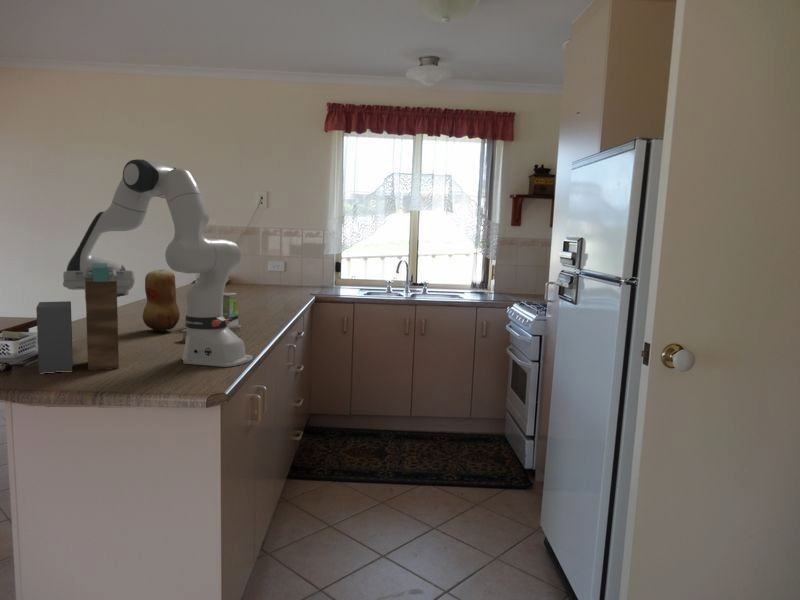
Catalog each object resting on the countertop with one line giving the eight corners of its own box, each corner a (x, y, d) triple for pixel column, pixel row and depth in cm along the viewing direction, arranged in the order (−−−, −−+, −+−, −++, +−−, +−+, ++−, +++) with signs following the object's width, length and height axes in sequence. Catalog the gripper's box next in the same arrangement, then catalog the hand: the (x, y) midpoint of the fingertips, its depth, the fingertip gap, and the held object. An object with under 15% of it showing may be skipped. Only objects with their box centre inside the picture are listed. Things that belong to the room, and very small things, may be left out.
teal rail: (92, 275, 179) (92, 263, 179) (106, 275, 181) (106, 263, 181) (93, 281, 162) (92, 267, 161) (108, 281, 164) (108, 267, 163)
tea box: (238, 326, 245) (238, 292, 244) (229, 330, 236) (229, 295, 234) (205, 324, 247) (205, 291, 245) (194, 328, 237) (194, 293, 235)
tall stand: (88, 361, 174) (85, 278, 171) (116, 359, 178) (114, 277, 175) (88, 370, 164) (85, 281, 161) (118, 368, 168) (116, 281, 165)
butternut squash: (135, 332, 223) (134, 269, 220) (159, 327, 236) (158, 267, 233) (164, 335, 219) (163, 271, 216) (187, 330, 232) (186, 269, 229)
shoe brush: (235, 334, 229) (235, 322, 228) (245, 337, 224) (245, 324, 223) (178, 341, 211) (177, 328, 211) (187, 344, 206) (187, 331, 206)
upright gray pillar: (42, 365, 169) (39, 302, 166) (73, 362, 172) (70, 301, 170) (39, 374, 158) (36, 307, 156) (72, 372, 162) (69, 306, 160)
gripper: (63, 278, 184) (61, 259, 173) (132, 278, 194) (134, 260, 182) (63, 296, 182) (61, 278, 170) (133, 294, 192) (135, 277, 180)
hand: (99, 268), depth 177 cm, fingers open, 4 cm apart
